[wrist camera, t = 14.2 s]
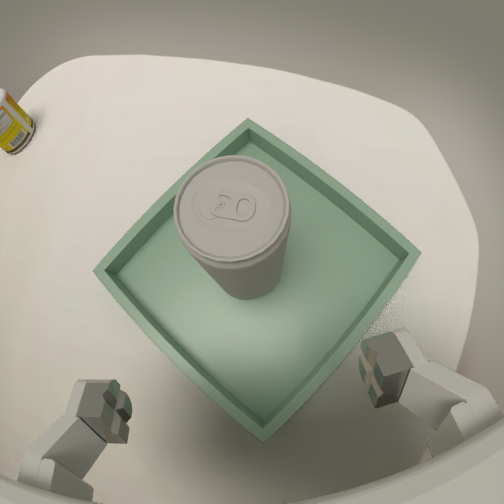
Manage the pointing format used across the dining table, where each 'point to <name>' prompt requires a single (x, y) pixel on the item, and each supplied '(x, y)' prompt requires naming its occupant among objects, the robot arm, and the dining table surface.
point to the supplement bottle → (13, 125)
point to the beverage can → (235, 223)
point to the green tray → (272, 304)
